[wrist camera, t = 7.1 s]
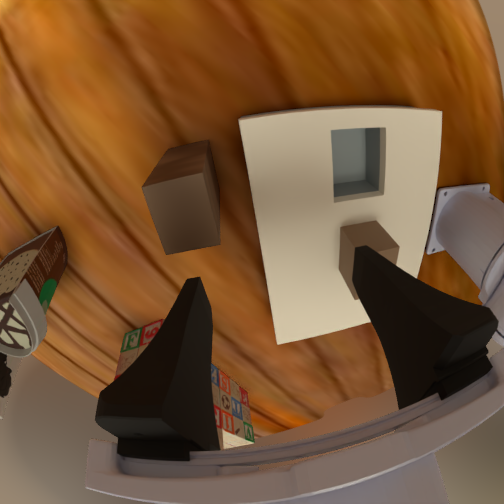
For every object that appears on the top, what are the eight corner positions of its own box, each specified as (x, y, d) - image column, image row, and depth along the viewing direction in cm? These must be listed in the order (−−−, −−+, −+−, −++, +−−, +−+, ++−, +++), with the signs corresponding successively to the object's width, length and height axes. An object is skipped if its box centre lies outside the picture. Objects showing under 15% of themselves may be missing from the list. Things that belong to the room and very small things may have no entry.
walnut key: (208, 139, 18) (202, 172, 12) (219, 189, 20) (220, 244, 14) (168, 149, 18) (141, 187, 12) (181, 197, 20) (166, 255, 14)
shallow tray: (409, 106, 17) (432, 112, 15) (390, 286, 29) (401, 304, 26) (240, 116, 17) (243, 122, 15) (273, 314, 29) (278, 335, 27)
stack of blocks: (248, 391, 40) (257, 461, 30) (215, 400, 41) (219, 467, 31) (162, 316, 28) (150, 424, 18) (123, 332, 29) (104, 427, 19)
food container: (31, 296, 24) (-1, 362, 16) (2, 256, 21) (-41, 320, 13) (101, 272, 23) (67, 358, 15) (68, 220, 20) (12, 299, 12)
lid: (435, 109, 15) (475, 123, 11) (403, 305, 27) (420, 333, 23) (238, 118, 15) (244, 130, 11) (275, 338, 27) (283, 374, 23)
